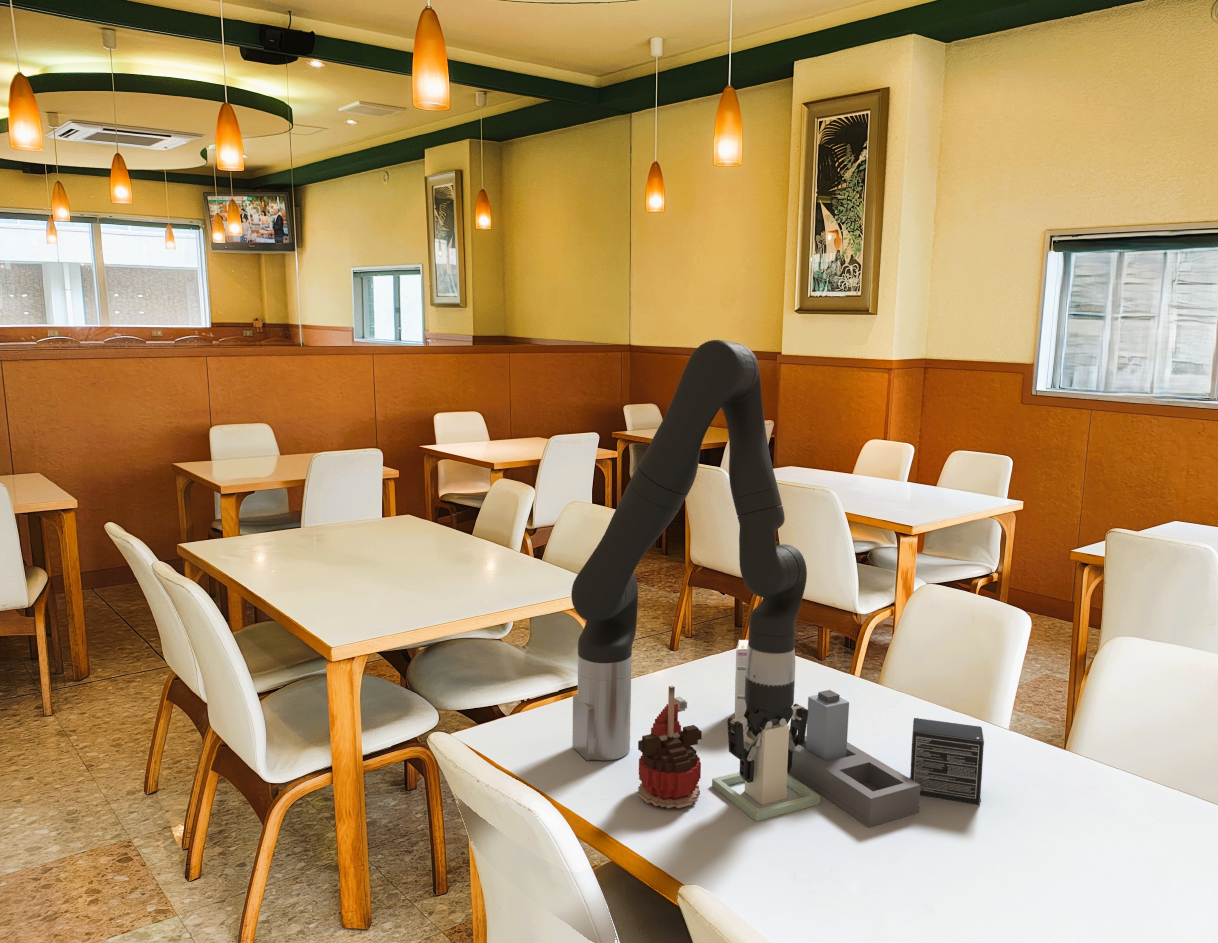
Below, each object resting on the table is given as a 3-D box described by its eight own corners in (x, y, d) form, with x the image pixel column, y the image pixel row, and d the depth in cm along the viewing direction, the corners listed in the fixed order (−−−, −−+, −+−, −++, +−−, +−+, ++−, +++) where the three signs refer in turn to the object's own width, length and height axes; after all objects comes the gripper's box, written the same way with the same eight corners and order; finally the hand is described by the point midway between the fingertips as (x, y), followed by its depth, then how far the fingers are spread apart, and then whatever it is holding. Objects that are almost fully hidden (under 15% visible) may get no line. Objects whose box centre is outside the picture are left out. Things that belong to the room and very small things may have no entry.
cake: (654, 818, 135) (657, 703, 132) (624, 790, 143) (626, 682, 140) (714, 802, 140) (717, 691, 137) (682, 776, 148) (684, 671, 145)
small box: (978, 786, 146) (983, 725, 144) (980, 805, 140) (985, 741, 138) (909, 775, 149) (913, 715, 148) (908, 793, 143) (913, 731, 142)
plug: (761, 804, 139) (765, 724, 137) (744, 791, 143) (747, 713, 141) (785, 798, 141) (789, 719, 139) (768, 785, 145) (771, 708, 143)
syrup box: (765, 726, 168) (768, 650, 166) (733, 722, 169) (736, 648, 167) (766, 713, 173) (769, 640, 171) (735, 710, 174) (737, 638, 172)
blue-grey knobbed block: (823, 777, 146) (827, 701, 144) (805, 765, 150) (808, 690, 148) (845, 771, 148) (849, 696, 146) (826, 760, 152) (830, 686, 150)
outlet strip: (868, 827, 133) (870, 798, 132) (780, 767, 152) (781, 741, 151) (918, 812, 137) (920, 784, 137) (827, 755, 156) (828, 730, 155)
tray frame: (756, 821, 134) (756, 813, 134) (711, 785, 145) (712, 778, 145) (820, 803, 140) (820, 796, 139) (772, 770, 150) (773, 763, 150)
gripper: (745, 690, 133) (741, 796, 135) (822, 675, 139) (817, 777, 142) (717, 673, 139) (714, 775, 142) (792, 659, 146) (787, 757, 148)
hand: (765, 775), depth 142 cm, fingers open, 6 cm apart
